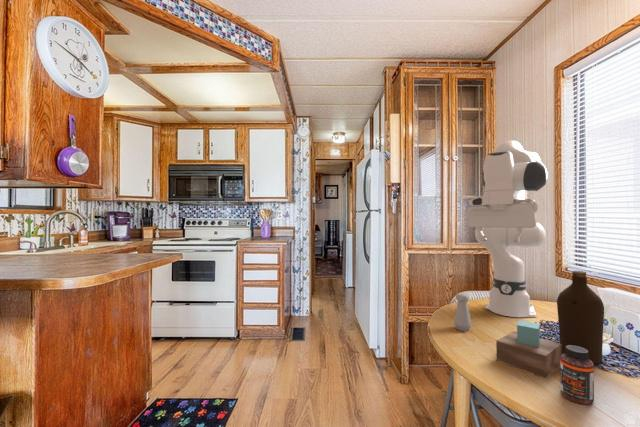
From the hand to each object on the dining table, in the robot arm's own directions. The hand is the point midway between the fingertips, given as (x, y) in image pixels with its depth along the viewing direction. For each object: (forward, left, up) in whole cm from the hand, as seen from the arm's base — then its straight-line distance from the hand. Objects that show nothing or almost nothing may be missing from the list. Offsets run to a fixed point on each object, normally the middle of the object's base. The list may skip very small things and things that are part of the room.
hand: (499, 241), depth 101 cm
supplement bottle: (+24, +20, -33) cm, 46 cm away
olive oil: (-3, +20, -33) cm, 39 cm away
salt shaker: (-3, -13, -33) cm, 36 cm away
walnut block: (+11, +9, -34) cm, 36 cm away
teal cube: (+11, +9, -28) cm, 31 cm away
